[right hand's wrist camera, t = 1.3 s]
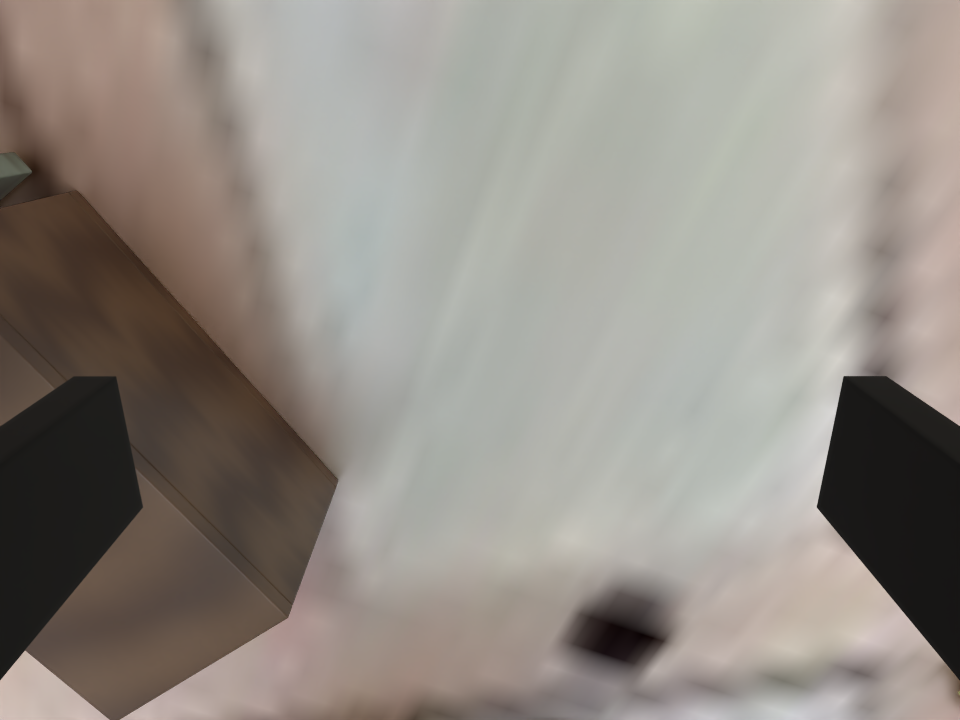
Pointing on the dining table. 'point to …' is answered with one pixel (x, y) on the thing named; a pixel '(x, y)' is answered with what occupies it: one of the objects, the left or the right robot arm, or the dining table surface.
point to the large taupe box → (155, 463)
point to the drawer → (11, 172)
